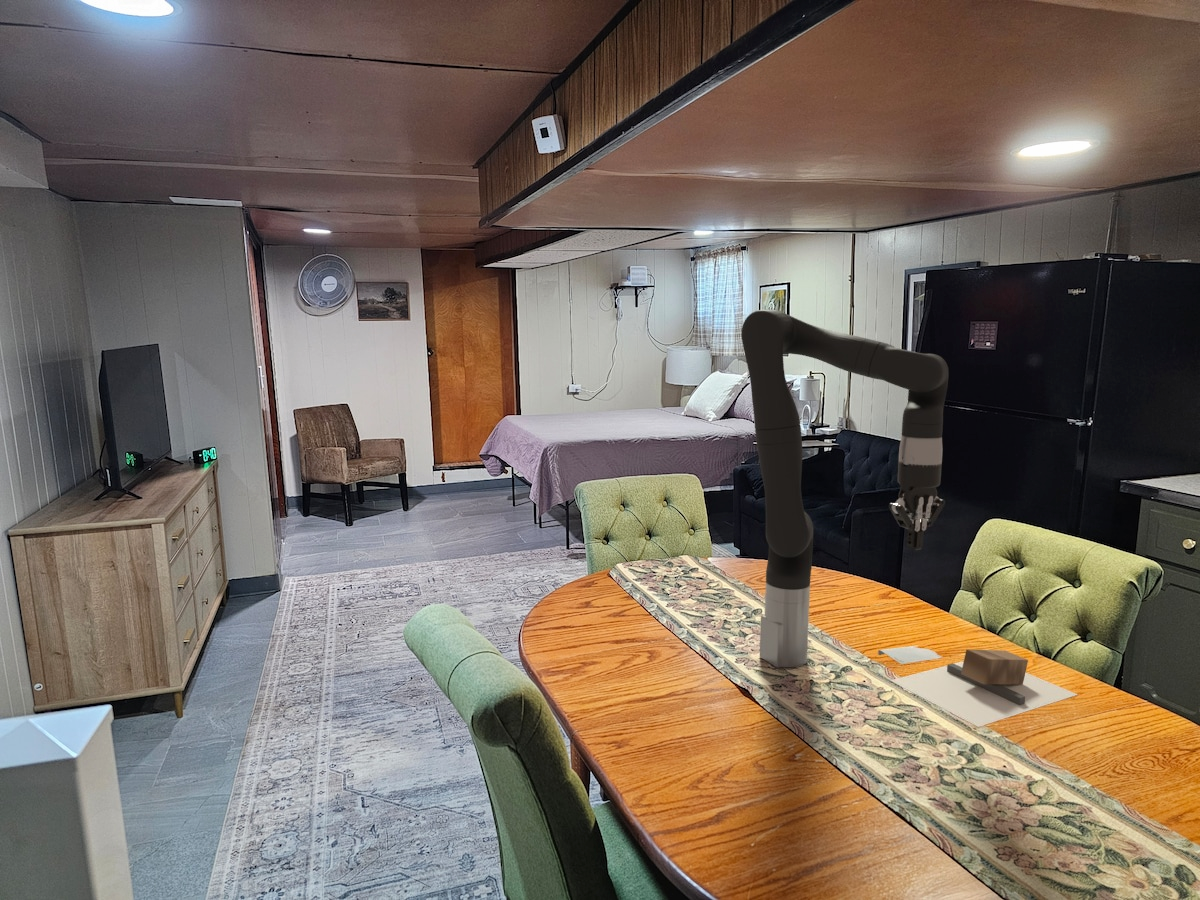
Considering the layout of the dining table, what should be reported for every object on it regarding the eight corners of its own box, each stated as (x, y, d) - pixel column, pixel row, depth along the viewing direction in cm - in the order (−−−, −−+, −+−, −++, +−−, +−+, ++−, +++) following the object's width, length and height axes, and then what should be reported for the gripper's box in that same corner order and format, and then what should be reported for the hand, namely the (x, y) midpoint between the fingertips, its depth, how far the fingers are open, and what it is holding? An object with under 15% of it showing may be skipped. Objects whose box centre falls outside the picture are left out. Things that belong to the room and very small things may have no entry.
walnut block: (989, 659, 141) (1028, 659, 147) (966, 649, 146) (1005, 650, 151) (983, 684, 142) (1022, 684, 147) (961, 673, 146) (999, 674, 152)
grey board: (977, 732, 131) (978, 718, 131) (890, 685, 149) (890, 673, 149) (1077, 699, 143) (1078, 687, 143) (984, 659, 161) (985, 648, 160)
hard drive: (902, 664, 156) (951, 657, 159) (878, 649, 164) (925, 642, 167) (902, 672, 156) (951, 665, 160) (877, 656, 164) (925, 649, 167)
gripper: (928, 455, 146) (923, 540, 149) (878, 459, 140) (874, 548, 143) (961, 460, 139) (955, 549, 142) (910, 465, 134) (904, 558, 136)
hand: (914, 548), depth 142 cm, fingers closed
